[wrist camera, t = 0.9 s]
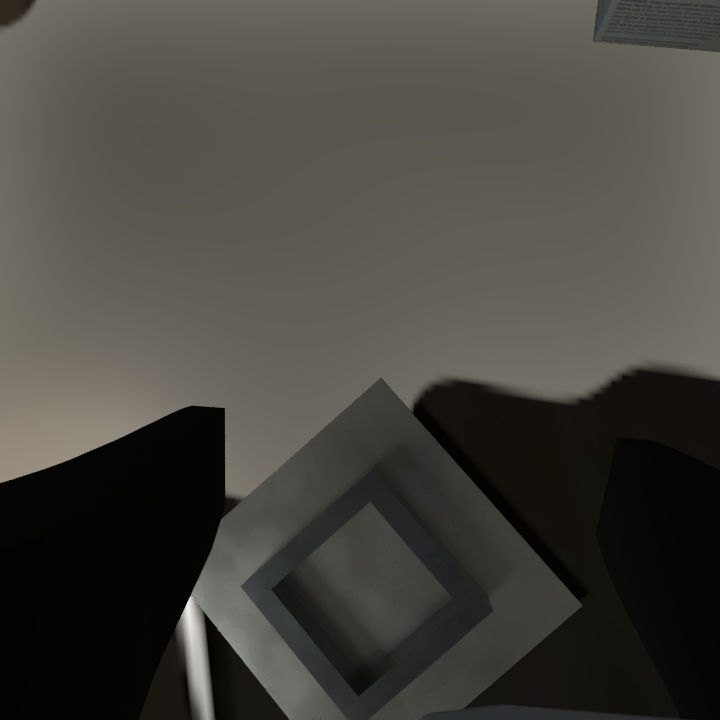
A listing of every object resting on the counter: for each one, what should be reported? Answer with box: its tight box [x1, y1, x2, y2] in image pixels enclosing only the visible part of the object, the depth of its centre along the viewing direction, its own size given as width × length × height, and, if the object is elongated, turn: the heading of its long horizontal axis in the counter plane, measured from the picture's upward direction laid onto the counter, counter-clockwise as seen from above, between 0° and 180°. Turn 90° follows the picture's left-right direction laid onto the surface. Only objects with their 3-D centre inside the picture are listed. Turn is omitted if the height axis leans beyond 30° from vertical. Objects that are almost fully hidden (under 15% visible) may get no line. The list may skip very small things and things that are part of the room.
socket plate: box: [191, 378, 582, 720], centre depth 29 cm, size 14×14×3 cm
